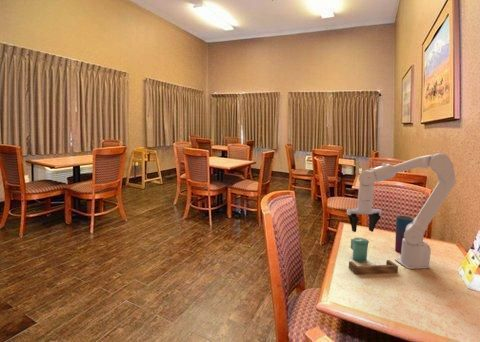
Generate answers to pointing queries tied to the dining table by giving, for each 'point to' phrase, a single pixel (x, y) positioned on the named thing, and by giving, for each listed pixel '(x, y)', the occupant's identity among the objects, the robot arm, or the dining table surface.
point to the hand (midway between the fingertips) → (362, 231)
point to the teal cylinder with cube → (359, 249)
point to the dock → (374, 268)
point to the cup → (401, 230)
